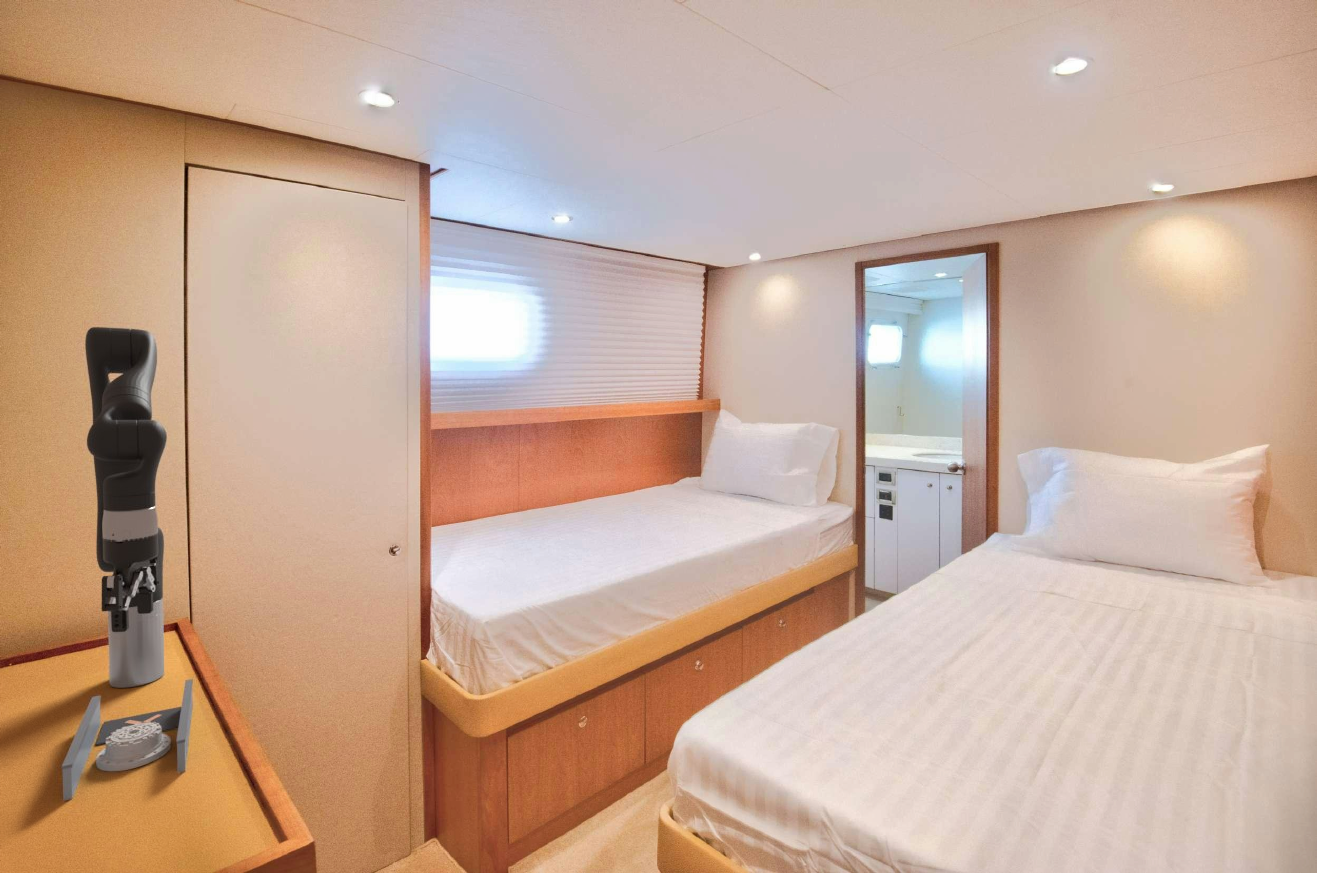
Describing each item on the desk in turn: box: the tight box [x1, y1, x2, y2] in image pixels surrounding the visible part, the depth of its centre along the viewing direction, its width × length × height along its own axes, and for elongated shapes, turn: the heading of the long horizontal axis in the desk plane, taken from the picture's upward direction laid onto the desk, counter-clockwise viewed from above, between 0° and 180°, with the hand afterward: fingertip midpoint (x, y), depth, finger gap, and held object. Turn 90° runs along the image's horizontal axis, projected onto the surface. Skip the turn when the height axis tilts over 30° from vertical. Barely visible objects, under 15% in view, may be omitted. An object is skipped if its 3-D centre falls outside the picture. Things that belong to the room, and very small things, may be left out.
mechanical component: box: [95, 722, 172, 772], centre depth 110 cm, size 10×4×10 cm
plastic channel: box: [61, 678, 194, 802], centre depth 112 cm, size 26×15×6 cm, turn 34°
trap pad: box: [95, 706, 182, 747], centre depth 120 cm, size 9×12×1 cm
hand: (133, 621), depth 114 cm, fingers open, 8 cm apart
